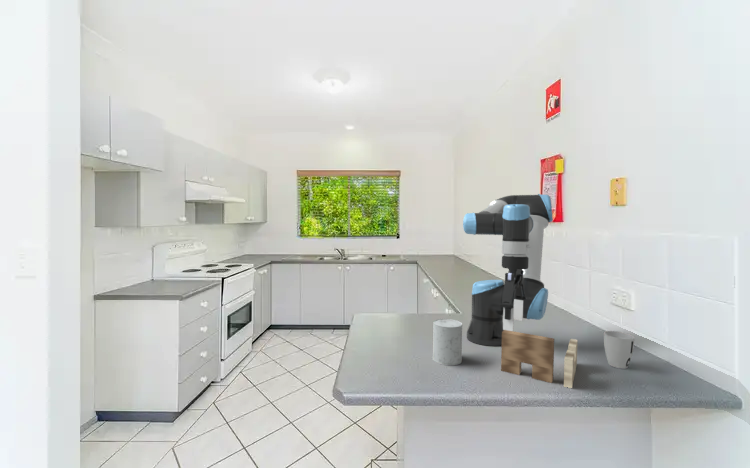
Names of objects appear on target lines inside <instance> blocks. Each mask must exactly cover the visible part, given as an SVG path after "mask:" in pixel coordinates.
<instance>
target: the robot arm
mask: <svg viewBox="0 0 750 468" xmlns="http://www.w3.org/2000/svg"><path fill="white" fill-rule="evenodd" d="M552 206H553V205H552V199H551V196H550V195H549V194H540V193H537V194H518V195H517V194H513V195H512V194H511V195H506V196H502V197H500V198H497V199H495V200H493V201H491V202H489V204H488V205H487V207H486V208H484V209H483V210H481V211H479V212H469V213H468V212H467V213H465V214H464V217H463V220H462V226H463V228H462V229H463V232H464V233H465V234H467V235H473V236H476V235H479V236H480V235H481V236H482V235H489V236H492V235H493V236H496V235H497V236H502V241H501V253H502V256H501V268H503V269H507V270H508V272H505V273H504V280H502V279H486V280H479V281H478V280H477V281H475V282H474V283H473V284H472V290H471V320H470V322H469V325H468V328H467V330H466V340H469V341H470V342H472V343H474V344H477V345H482V346H488V347H489V346H490V347H497V346H498V347H499V346H502V332H503V331H504V330H508V331H514V323H515V322H514V320H515V321H520V322H523V320H525V319H527V320H534V321H535V320H536V321H540V320H541V319H543V318H544V316H545V313H546V310H547V305H548V299H549V289H548V288H545V283H544V282H543V281H542V280H541V275H542V272H541V271H542V263H543V262H542V261H543V259H542V257H543V247H544V246H543V244H544V234H545V233H544V232H545V229H546V228H547V227H549V223H552V222H553V221H554V220H553V219H554V218H553V209H552Z"/></svg>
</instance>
